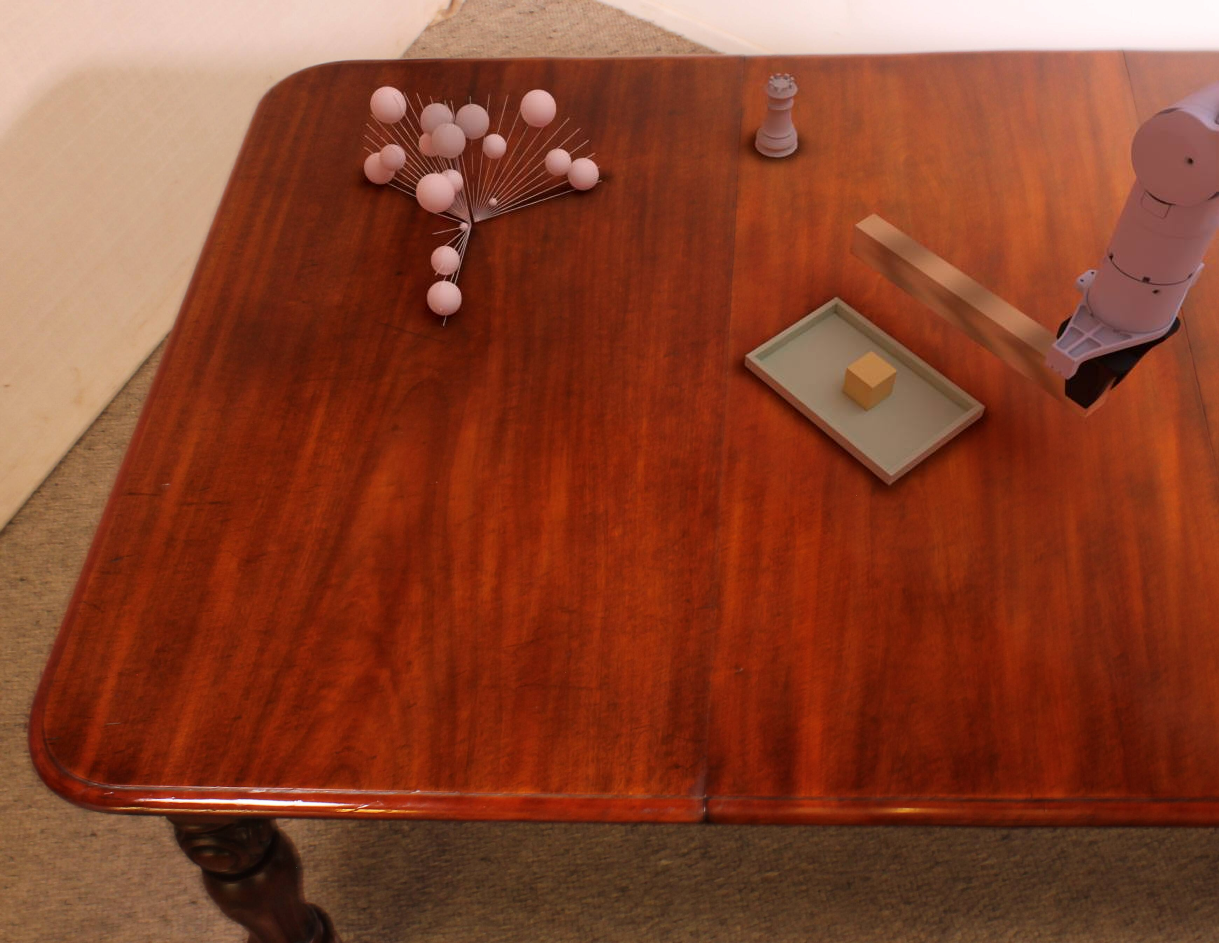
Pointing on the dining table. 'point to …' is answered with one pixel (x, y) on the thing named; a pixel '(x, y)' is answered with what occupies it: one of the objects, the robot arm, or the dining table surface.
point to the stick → (963, 304)
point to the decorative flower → (450, 143)
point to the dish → (879, 438)
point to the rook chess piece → (778, 119)
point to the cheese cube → (869, 380)
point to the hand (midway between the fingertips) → (1089, 390)
